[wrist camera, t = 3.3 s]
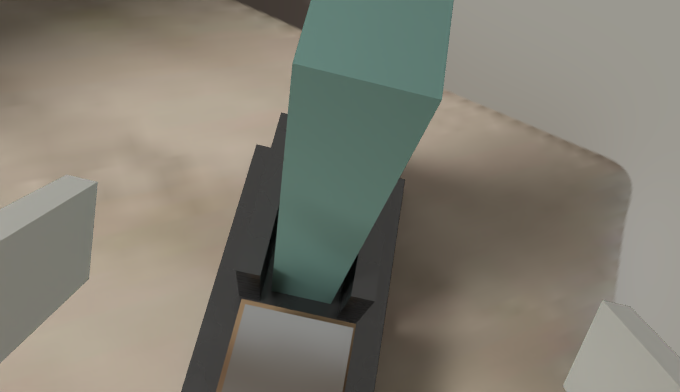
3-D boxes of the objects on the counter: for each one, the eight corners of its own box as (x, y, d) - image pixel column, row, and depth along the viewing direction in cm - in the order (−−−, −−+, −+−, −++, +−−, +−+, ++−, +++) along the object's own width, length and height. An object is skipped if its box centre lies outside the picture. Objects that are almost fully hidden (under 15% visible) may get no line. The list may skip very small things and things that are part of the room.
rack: (346, 553, 25) (370, 584, 20) (147, 513, 25) (116, 534, 20) (401, 186, 35) (427, 140, 29) (256, 152, 34) (256, 99, 29)
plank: (330, 304, 30) (442, 100, 12) (271, 290, 29) (292, 63, 12) (351, 197, 33) (464, -93, 15) (298, 185, 33) (346, -124, 15)
